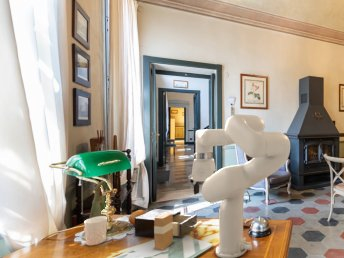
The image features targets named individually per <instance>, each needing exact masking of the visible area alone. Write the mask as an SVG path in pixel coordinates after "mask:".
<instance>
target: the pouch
mask: <svg viewBox="0 0 344 258" xmlns="http://www.w3.org/2000/svg"><path fill="white" fill-rule="evenodd" d="M105 179H106V180H107V181H108V179H107V178H105ZM101 185H102V186H103V188H104V191H108V182H107V183H106V182H105V181H103V179H101V180H100V182H97V183H96V186H95V188H94V190H95V191H94V197H93V200H92V201H91V205H92V206H91V209H90V213H89V217H88V219H90V218H93V217H98V216H106V215H103V214H101V211H102V210H103V209H105V207H106V203H105V201H106V196H102V192H101V188H100V187H101ZM106 217H107V216H106ZM107 222H108V217H107Z"/></svg>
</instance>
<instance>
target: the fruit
mask: <svg viewBox="0 0 344 258" xmlns="http://www.w3.org/2000/svg"><path fill="white" fill-rule="evenodd" d="M145 213H147V212H146V211H145V209H138V210H136V211H133V212H132V213H131V214H130V215H129V217H128V222H129V223H130V224H131V225H133V226H135V218H136V217H138V216H141V215H143V214H145Z"/></svg>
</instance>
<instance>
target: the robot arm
mask: <svg viewBox="0 0 344 258" xmlns="http://www.w3.org/2000/svg"><path fill="white" fill-rule="evenodd" d="M265 127H266V126H265V122H264V120H263V118H261V117H259V116H258V115H252V114H233V115H230V116H229V117H228V119H227V120H226V123H225V127H224V128H215V129H213V128H212V129H210V128H209V129H207V128H206V129H198V130H196V131H195V153H193V157H195V158H194V159H193V162H192V169H191V173H190V174H189V175H188V176H187V178H188V179H189V181H190V183H191V185H192V187H193V194H194V195H198V194H200V184H199V183H200V182H203V183H202V186H201V196H202V198H203V200H204V201H206V202H207V203H212V204H213V203H214V204H215V203H217V202H220V205H219V213H218V217H219V219H218V221H219V231H218V232H219V241H218V242H219V244H218V245H217V246H216V248H215V255H216V256H217V257H218V258H238V257H241V256H243V255H245V253H247V251H252V250H253V245H252V244H253V243H252V242H251V241H247V240H246V239H247V238H246V237H245V236H244V200H245V194H246V190H247V189H250V188H252V187H253V186H255V185H256V184H258V183H260V182H262V181H263V180H265V179H266V178H268V177H270V176H271V175H273V174H275V173H276V172H278V171H279V170H280V169H281V168H282V167H283V166H284V165H285V164H286V163H287V161H288V159H289V157H290V153H291V141H290V139H289V137H288V136H287V135H286V134H285V133H282V132H279V131H265ZM234 144H235V145H236V146H237V147H238V148H239V149H240V151H242V152H243V153H244V154H245V155H247V156H248V157H250V158H252V159H250V160H249V161H247V162H245V163H240V164H236V165H228V166H224V167H222V168H220V169H218V170H217V168H216V162H215V159H214V147H221V146H229V145H230V146H231V145H234Z"/></svg>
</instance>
